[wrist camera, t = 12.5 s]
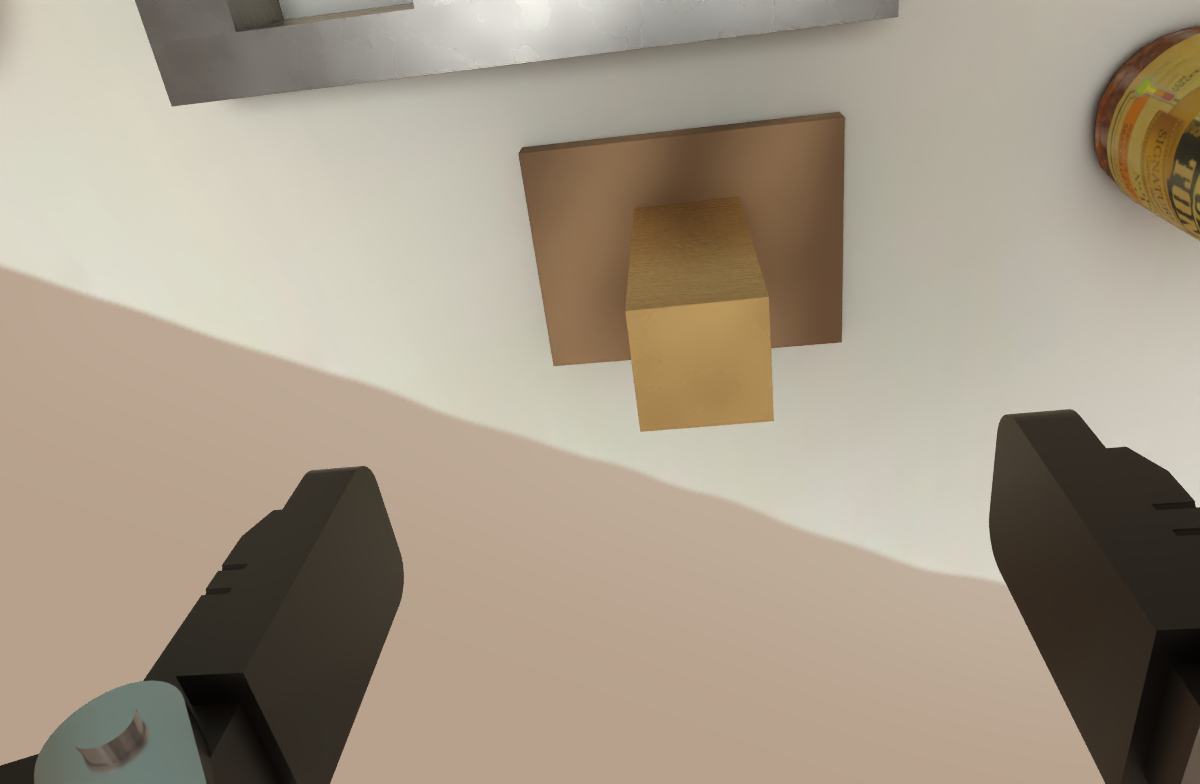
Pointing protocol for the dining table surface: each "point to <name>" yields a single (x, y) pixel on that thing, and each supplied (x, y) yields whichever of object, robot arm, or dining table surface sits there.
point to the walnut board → (683, 174)
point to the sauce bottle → (1156, 129)
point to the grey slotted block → (438, 37)
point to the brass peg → (697, 317)
